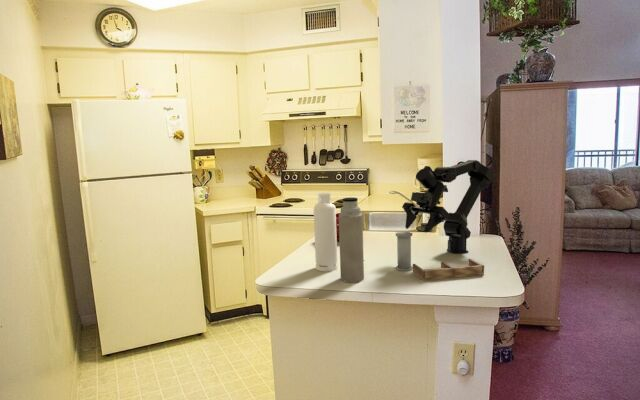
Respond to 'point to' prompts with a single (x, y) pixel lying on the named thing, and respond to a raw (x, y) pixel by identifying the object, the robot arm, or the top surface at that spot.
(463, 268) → the rack
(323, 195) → the bottle
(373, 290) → the top surface
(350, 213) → the thermos bottle
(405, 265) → the cord reel
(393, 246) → the top surface
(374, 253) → the top surface
